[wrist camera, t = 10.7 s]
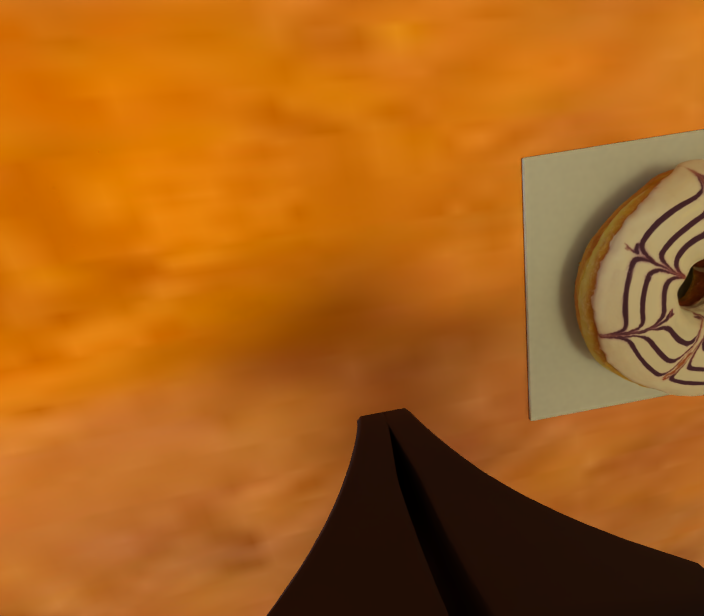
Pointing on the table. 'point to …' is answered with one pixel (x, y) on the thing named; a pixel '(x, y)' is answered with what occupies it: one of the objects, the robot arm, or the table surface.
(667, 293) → the decorated donut
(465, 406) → the table surface
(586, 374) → the placemat
